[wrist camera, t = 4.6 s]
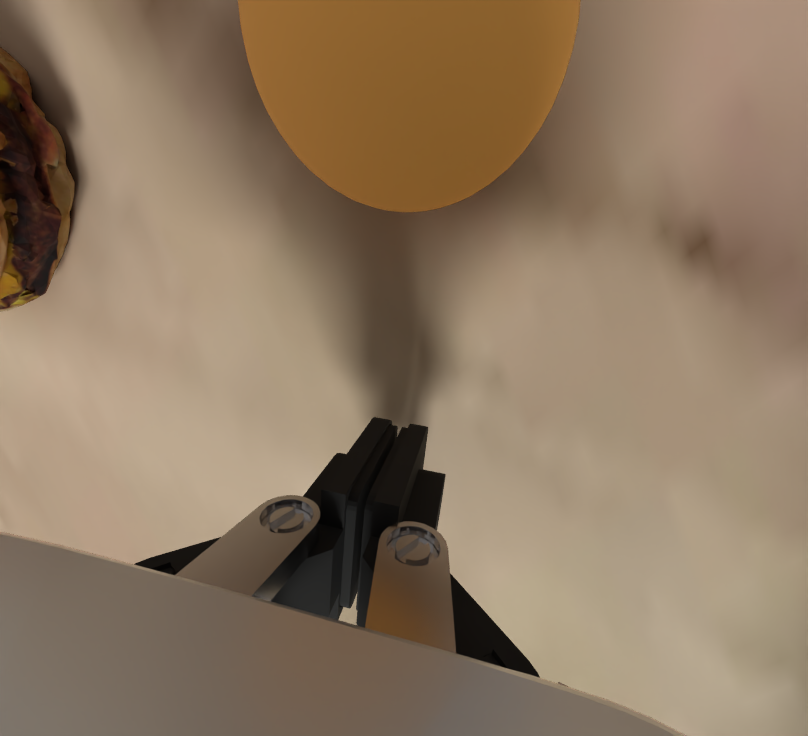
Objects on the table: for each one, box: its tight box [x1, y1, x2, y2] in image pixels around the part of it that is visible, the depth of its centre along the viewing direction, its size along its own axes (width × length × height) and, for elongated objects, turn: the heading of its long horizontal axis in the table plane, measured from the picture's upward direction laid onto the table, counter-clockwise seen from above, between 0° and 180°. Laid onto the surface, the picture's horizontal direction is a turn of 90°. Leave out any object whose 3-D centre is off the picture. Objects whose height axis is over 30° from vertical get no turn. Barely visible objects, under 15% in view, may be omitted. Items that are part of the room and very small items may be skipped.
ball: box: [238, 0, 581, 212], centre depth 7 cm, size 6×6×6 cm
